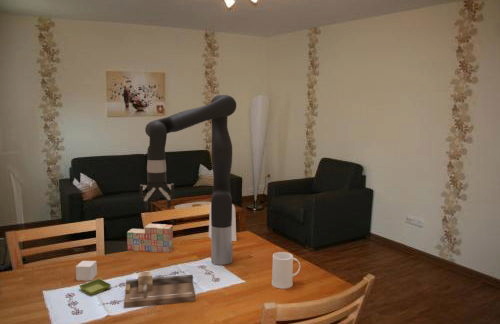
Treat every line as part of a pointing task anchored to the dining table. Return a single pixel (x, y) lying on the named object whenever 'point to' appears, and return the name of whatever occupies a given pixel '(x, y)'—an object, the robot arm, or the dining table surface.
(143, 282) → the gauge
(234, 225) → the milk
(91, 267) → the white cube
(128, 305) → the tray
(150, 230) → the stack of blocks
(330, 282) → the dining table surface
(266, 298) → the dining table surface
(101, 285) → the green square dish
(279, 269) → the mug
